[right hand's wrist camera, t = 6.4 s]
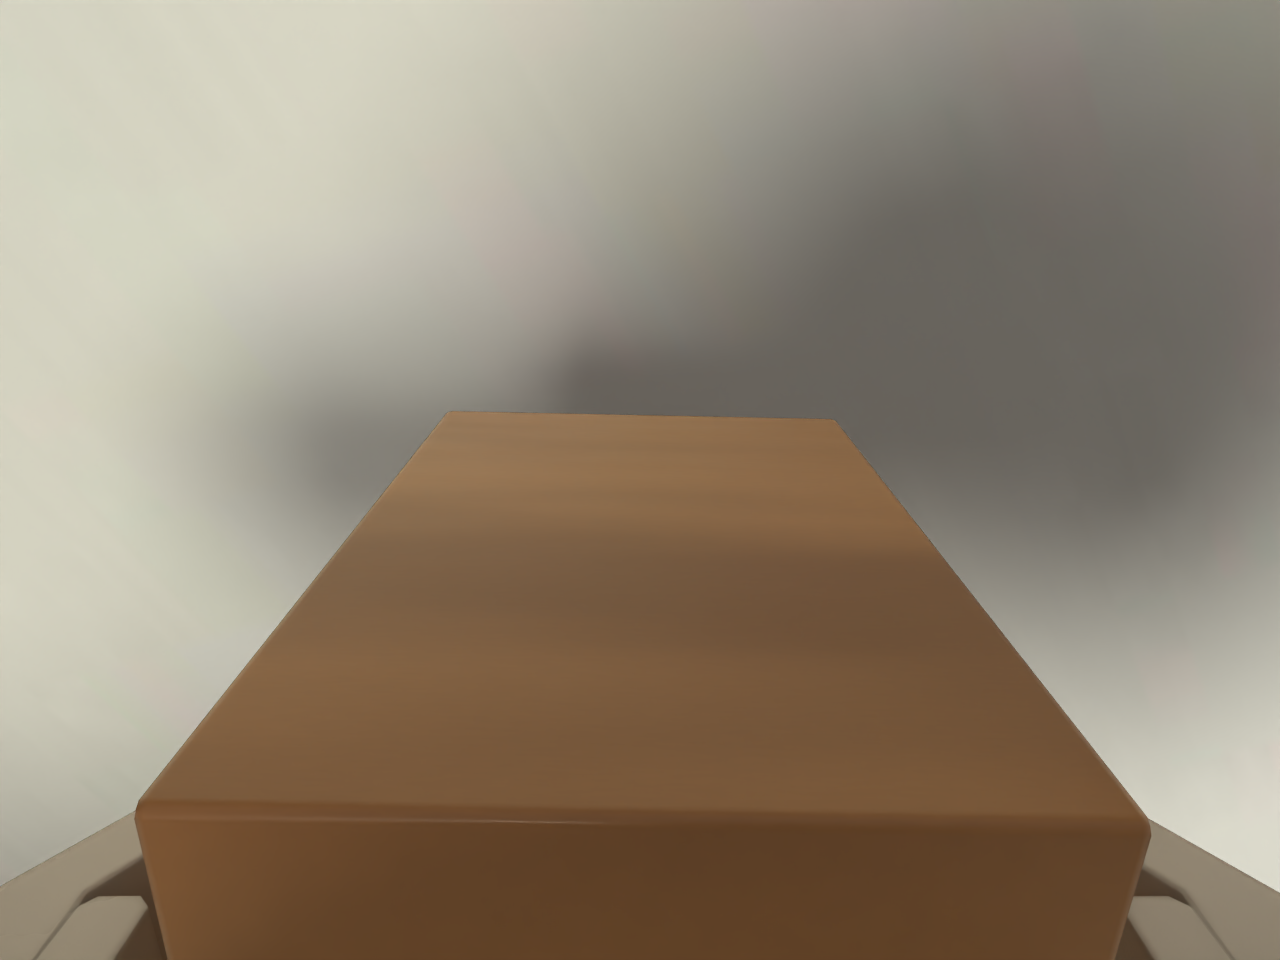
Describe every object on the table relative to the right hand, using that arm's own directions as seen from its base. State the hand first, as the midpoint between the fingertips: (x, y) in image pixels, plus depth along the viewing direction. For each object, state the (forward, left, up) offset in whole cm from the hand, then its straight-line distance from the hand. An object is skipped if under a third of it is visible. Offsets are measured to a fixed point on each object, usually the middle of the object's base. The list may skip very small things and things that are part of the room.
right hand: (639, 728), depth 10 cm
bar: (+3, +10, -3) cm, 10 cm away
